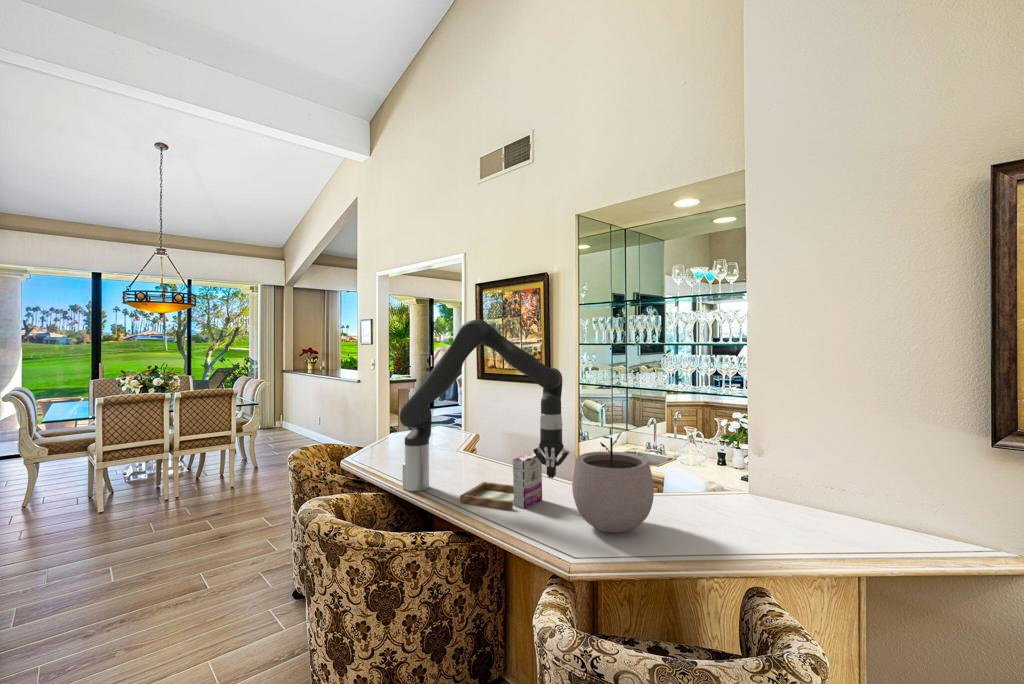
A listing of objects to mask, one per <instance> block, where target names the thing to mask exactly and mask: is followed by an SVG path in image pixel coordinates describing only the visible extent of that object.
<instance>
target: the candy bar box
mask: <svg viewBox="0 0 1024 684" xmlns="http://www.w3.org/2000/svg"><path fill="white" fill-rule="evenodd" d="M542 465H543V464H542V463H541V462H540V460H539V459H538V458H537V456H536V455H535V453H534V452H530V453H527V454H524V455H521V456H517V457H515V458H512V478H513V481H512V483H513V486H514V505H513V506H514V507H516V508H521V509H527V508H528V507H531V506H532V505H535V504H536V503H538V502H541V501H542V500H543V478H542V477H543V475H542V473H543V472H542V471H543V470H542V468H543V467H542Z"/></svg>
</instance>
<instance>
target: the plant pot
mask: <svg viewBox="0 0 1024 684" xmlns="http://www.w3.org/2000/svg"><path fill="white" fill-rule="evenodd" d="M608 433H609V436H605V435H603V436H602V438H604V439H609V440H610V441H609V442H610V444H609V447H610V448H608V447H607V445H605V444H604V443H603V442H599V443H600V446H601V447H603V448H605V450H606V451H593V452H592V451H591V452H587V453H582V454H580V455H578V456H577V458H576V461H575V465H574V469H573V473H572V474H573V475H572V482H571V483H572V485H571V486H572V487H571V490H572V495H573V500H574V503H575V506H576V507H575V508H576V509H577V511H578V513H579V515H580V516H581V518H582V519H584V521H585V522H587V524H588V525H590V526H592V527H594V528H595V529H598V530H599V531H602V532H605V533H614V534H620V533H626V532H629V531H632V530H634V529H636V528H637V527H639V526H641V524H643V522H645V520H646V519H647V518H648V516H649V515H650V512H651V510H652V507H653V503H654V494H655V493H654V492H655V491H654V479H653V474H652V471H651V466H650V463H649V459H648V458H646V457H644V456H642V455H639V454H634V453H630V452H629V453H628V452H621V451H613V446H614V444H615V446H616V443H617V440H619V437H620V436H621V434H622V431H620V433H619V434H618V435H617V437H616V439H615V440H614V441H613V437H612V427H609V432H608ZM610 436H611V437H610ZM609 449H610V450H609Z"/></svg>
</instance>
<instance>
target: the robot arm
mask: <svg viewBox="0 0 1024 684" xmlns="http://www.w3.org/2000/svg"><path fill="white" fill-rule="evenodd" d="M481 345H483V346H485V347H488V348H490V349H492V350H493V351H494V352H496V353H497V354H498V355H500V356H501V358H503V360H504V361H505V362H507V364H508V365H510V366H511V367H512V368H514V369H515V370H517V371H519V372H520V373H521V374H524V375H525V376H527V377H528V378H530V379H531V380H532V381H533V382H535V383H536V384H537V385H538V386H540V387H541V388H542V396H541V400H540V418H539V430H540V431H539V433H540V435H539V436H540V437H539V438H540V439H539V441H540V442H539V443H538V446H537V447H536V448H534V449H533V450H532V451H533V452H532V453H535V455H536V456H537V458H538V459H539V460H540V462H541V465H544V466H546V476H547V477H548V478H549V479H553V478H555V476H556V475H557V467H558V466H560V465H562V463H563V462H564V461H565V459H567V457H568V456H569V455H570V450H567V449H566V448H564V443H563V417H562V394H563V393H562V392H563V374H562V372H561V371H560V370H559V369H557V368H554V367H549V366H547V365H546V364H544V363H542V362H541V361H540V360H539V359H538V357H535V355H532V354H531V353H529V352H528V351H526V350H524V349H523V348H521V347H519V346H518V345H516V344H514V343H513V342H512V341H510V340H509V339H508V338H506V337H505V336H504V335H502V334H501V333H500V332H498V331H497V330H496V329H495V328H494V327H492V326H491V325H490V324H489V323H488V322H486V321H485V320H483V319H473V320H469V321H466V322H465V323H463V324H462V325H461V327H460V328H459V331H458V332H457V334H456V335H455V338H454V339H453V340H452V342H451V344H450V345H449V346H448V347H449V348H448V349H447V350H446V351H445V352H444V353H443V355H442V356H441V358H440V359H439V360H438V361H437V363H436V364H435V365H434V367H433V368H432V369H431V371H430V372H429V373H428V375H427V377H426V378H425V380H424V381H422V383H421V384H420V386H419V387H418V389H417V390H416V391H415V393H414V394H413V395H412V396H411V397H410V398H409V400H407V401H406V403H405V404H404V405H403V406H402V407H401V410H400V412H399V421H400V424H401V425H402V426H403V427H406V428H412V429H411V431H409V433H408V434H406V436H405V437H404V463H402V489H403V490H405V491H407V492H421V491H426V490H428V489H429V488H430V442H429V441H430V437H431V434H432V419H433V417H432V410H431V407H430V404H431V403H433V402H434V401H435V400H437V399H438V398H439V397H441V396H442V395H443V394H445V393H446V392H447V391H448V390H449V389H450V388H451V387H452V386H453V384H454V383H455V382H456V380H457V379H458V377H459V375H460V373H461V372H462V371H461V370H462V369H463V368H462V367H463V365H464V363H465V361H466V359H467V358H468V357H469V355H470V354H471V353H472V352H473V351H474V350H475V349H476V348H477V347H478V346H481ZM559 454H561V456H560V458H559V459H558V456H559Z"/></svg>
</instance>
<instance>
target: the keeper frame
mask: <svg viewBox="0 0 1024 684" xmlns="http://www.w3.org/2000/svg"><path fill="white" fill-rule="evenodd" d="M484 490H485V491H484ZM476 495H477V496H476ZM459 502H460V503H461V504H467V505H473V506H478V507H479V506H480V507H487V508H491V509H492V508H493V509H498V508H499V509H500V510H507V511H512V510H513V509H514V507H513V506H514V486H513V485H512V484H503V483H496V482H488V481H487V482H486V481H483V482H481V483H479V484H478V485H476V486H475V487H473V488H471V489H469V490H467V491H465V492H464V493H462V494H461V495H460V496H459Z"/></svg>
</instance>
